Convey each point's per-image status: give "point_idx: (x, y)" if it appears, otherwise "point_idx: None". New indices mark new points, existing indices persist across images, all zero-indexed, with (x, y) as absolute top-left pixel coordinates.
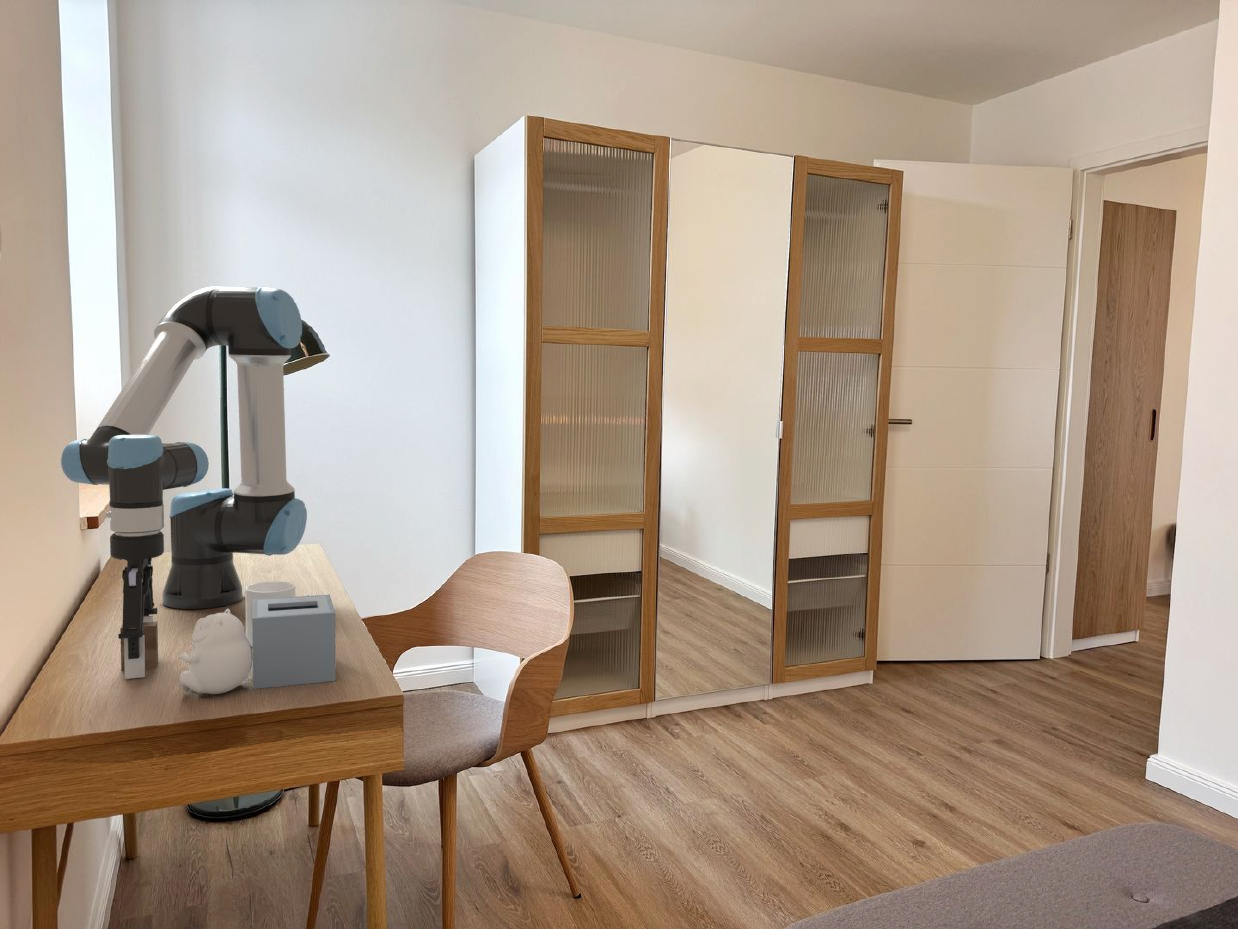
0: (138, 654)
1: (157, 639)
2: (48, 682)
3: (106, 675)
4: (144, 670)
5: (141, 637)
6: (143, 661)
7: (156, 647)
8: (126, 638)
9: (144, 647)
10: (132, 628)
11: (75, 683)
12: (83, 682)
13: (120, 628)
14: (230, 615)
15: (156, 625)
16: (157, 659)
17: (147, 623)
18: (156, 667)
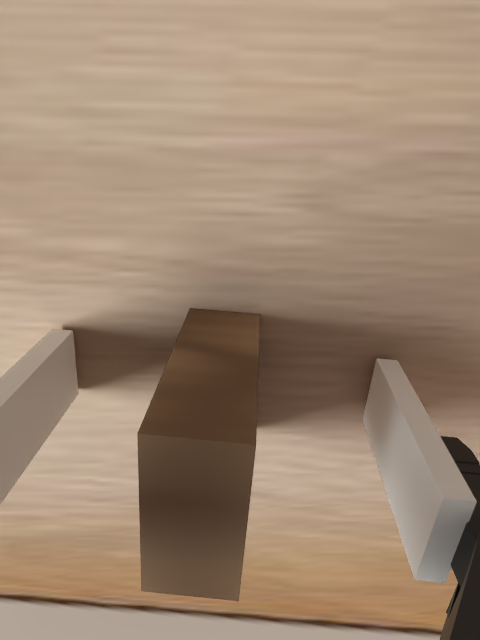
0: (472, 454)
1: (180, 367)
2: (285, 591)
3: (284, 468)
4: (404, 375)
5: (472, 508)
6: (418, 403)
7: (241, 357)
8: (445, 569)
9: (421, 442)
10: (242, 547)
11: (332, 538)
12: (332, 521)
13: (238, 598)
14: None
15: (206, 432)
16: (213, 321)
17: (176, 487)
18: (258, 315)
